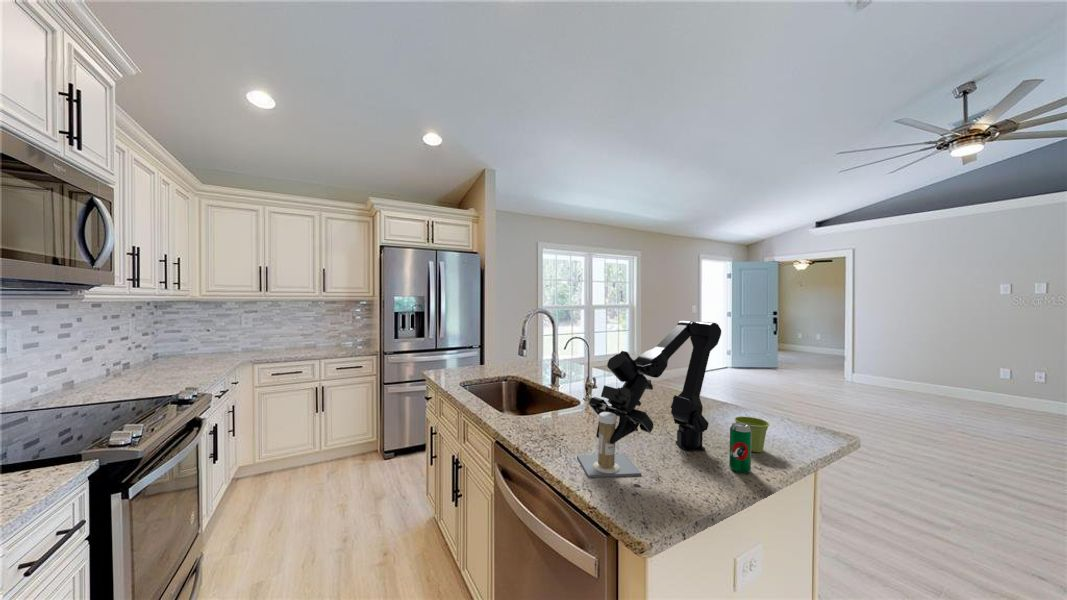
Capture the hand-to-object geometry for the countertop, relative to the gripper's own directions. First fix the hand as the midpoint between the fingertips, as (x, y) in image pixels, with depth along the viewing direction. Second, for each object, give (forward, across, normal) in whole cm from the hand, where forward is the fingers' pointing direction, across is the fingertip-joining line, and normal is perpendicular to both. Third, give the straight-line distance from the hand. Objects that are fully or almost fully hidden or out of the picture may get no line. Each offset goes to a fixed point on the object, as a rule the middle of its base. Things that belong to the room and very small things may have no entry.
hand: (604, 440), depth 97 cm
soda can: (-16, +20, +28) cm, 38 cm away
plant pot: (-28, +16, +41) cm, 52 cm away
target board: (+4, -1, +8) cm, 9 cm away
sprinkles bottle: (+4, 0, +6) cm, 7 cm away
